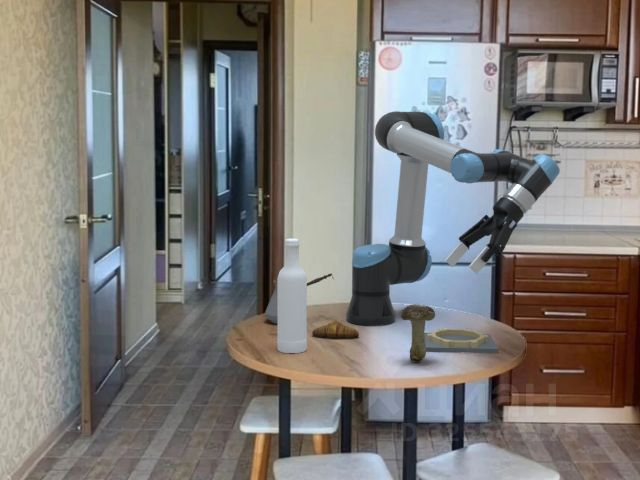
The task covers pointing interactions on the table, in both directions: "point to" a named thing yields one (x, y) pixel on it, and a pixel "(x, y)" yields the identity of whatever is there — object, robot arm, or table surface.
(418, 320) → the mushroom
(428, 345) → the gear board
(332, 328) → the croissant
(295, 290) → the bottle
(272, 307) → the coffee pot
